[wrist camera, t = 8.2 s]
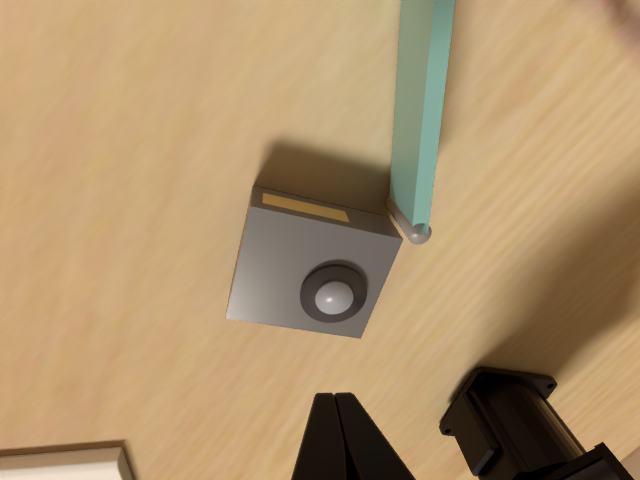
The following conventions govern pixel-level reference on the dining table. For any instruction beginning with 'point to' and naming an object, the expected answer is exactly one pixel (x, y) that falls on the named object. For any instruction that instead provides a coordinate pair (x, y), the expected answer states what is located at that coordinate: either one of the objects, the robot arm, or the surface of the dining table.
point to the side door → (418, 111)
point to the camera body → (310, 264)
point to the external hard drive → (67, 465)
